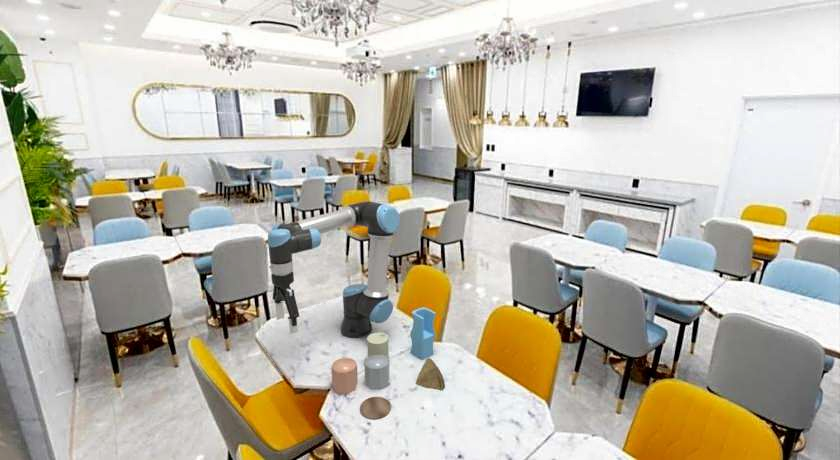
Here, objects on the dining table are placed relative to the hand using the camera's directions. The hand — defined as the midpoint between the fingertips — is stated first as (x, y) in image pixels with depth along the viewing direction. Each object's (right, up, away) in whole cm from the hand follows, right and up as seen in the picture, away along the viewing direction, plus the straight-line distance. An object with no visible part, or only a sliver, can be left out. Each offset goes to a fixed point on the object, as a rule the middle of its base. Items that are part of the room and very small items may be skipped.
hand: (287, 325), depth 148 cm
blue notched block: (+51, -19, +29) cm, 61 cm away
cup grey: (+33, -24, +9) cm, 42 cm away
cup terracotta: (+21, -25, +6) cm, 33 cm away
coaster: (+34, -28, -6) cm, 44 cm away
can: (+32, -21, +22) cm, 44 cm away
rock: (+54, -25, +7) cm, 60 cm away
